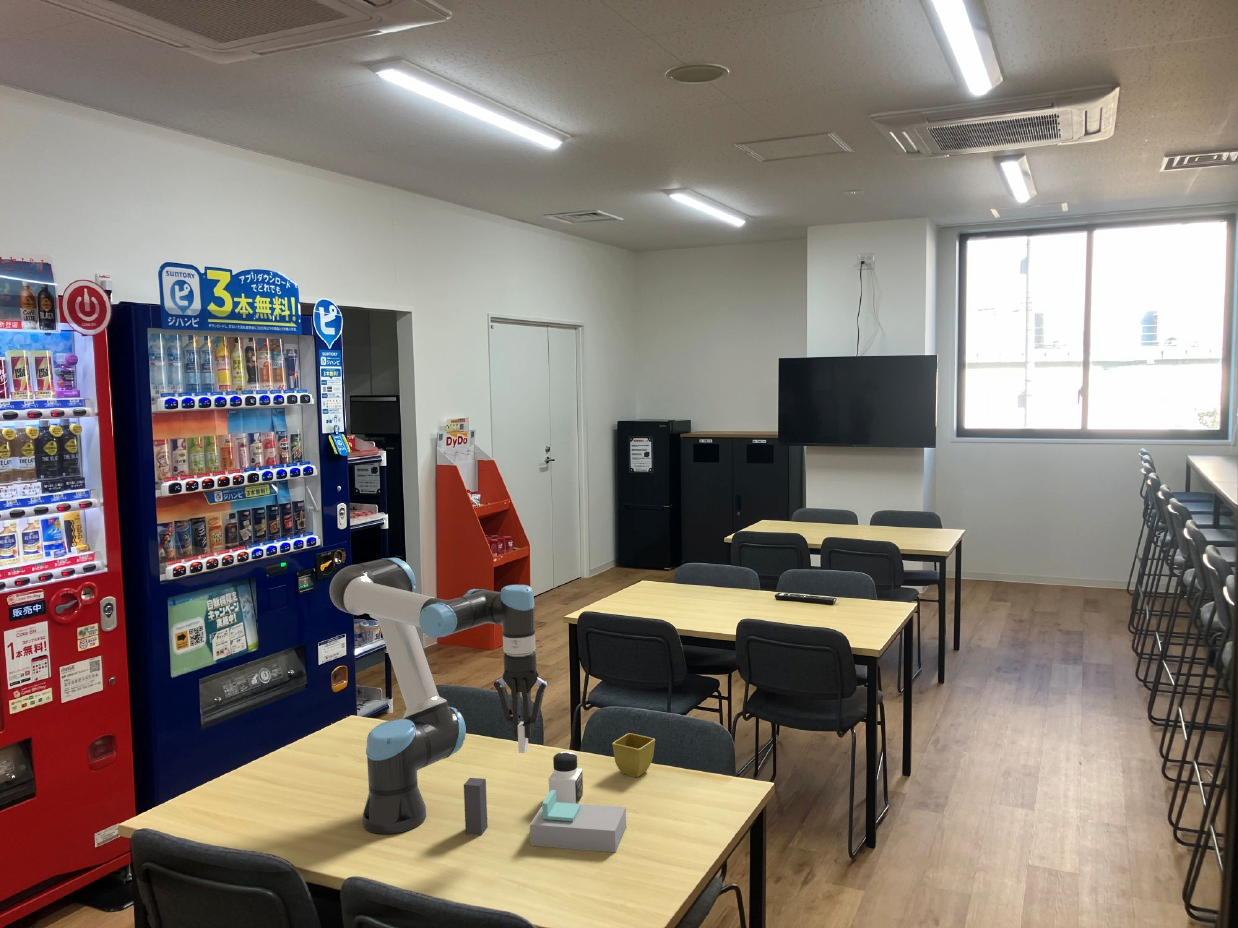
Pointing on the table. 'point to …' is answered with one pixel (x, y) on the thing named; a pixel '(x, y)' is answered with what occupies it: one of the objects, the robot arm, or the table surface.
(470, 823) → the plug
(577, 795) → the medicine bottle
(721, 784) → the table surface
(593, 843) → the socket
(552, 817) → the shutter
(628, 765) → the flower pot
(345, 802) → the table surface
